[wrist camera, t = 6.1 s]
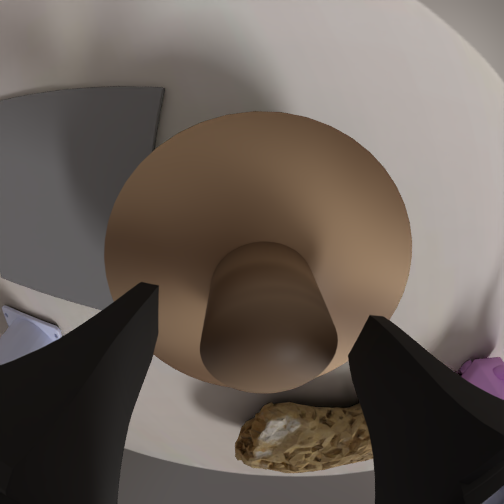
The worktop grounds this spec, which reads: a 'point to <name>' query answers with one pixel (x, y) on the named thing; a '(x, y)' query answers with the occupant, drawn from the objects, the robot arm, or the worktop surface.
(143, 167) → the lid
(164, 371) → the worktop surface
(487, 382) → the teapot
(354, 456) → the sponge
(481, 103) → the worktop surface
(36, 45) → the worktop surface
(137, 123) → the mat
